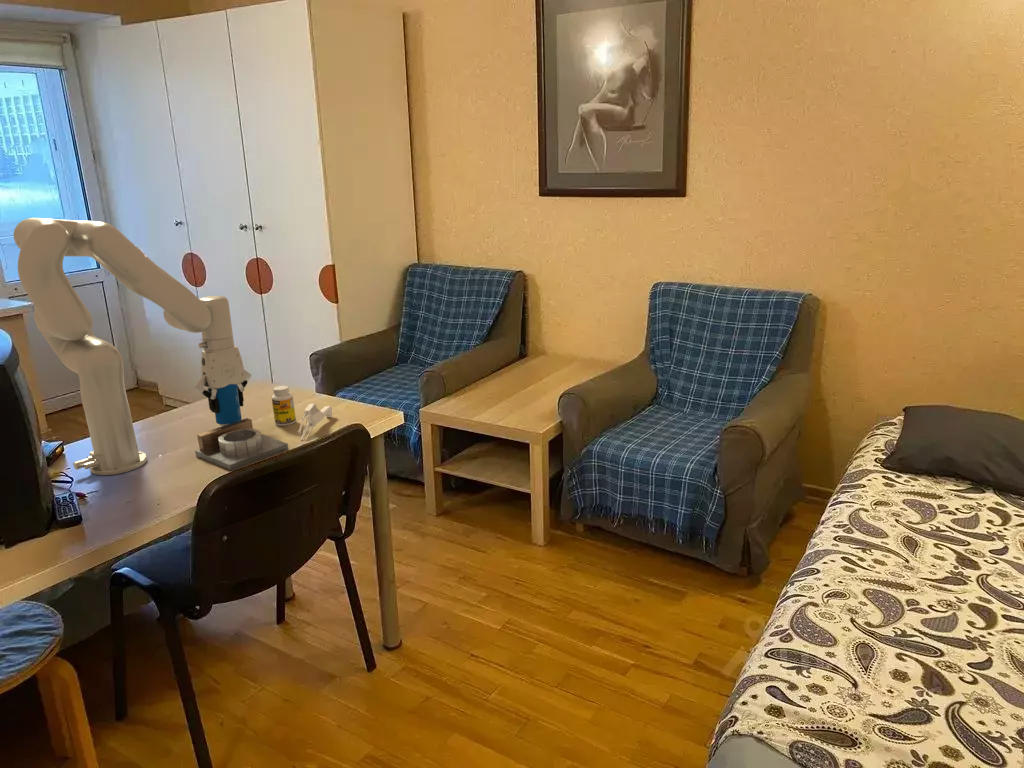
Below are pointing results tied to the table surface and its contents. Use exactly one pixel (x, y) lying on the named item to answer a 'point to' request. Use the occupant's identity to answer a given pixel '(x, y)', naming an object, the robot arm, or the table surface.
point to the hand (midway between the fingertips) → (227, 408)
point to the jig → (237, 445)
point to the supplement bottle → (283, 406)
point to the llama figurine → (314, 417)
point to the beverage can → (228, 405)
